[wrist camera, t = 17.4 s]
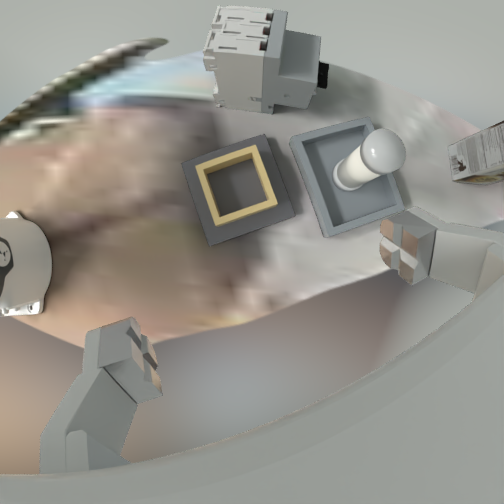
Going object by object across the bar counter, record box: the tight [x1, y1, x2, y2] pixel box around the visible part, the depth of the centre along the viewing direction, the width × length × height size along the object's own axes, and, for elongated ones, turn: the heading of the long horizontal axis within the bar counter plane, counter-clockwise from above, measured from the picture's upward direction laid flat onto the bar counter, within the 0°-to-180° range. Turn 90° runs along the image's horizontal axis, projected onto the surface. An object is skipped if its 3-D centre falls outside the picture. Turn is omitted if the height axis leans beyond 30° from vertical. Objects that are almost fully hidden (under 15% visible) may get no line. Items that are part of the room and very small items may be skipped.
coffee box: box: [448, 121, 504, 185], centre depth 32 cm, size 9×6×16 cm
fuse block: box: [181, 134, 295, 246], centre depth 39 cm, size 12×12×4 cm
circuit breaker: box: [203, 5, 329, 114], centre depth 33 cm, size 8×14×15 cm, turn 81°
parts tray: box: [289, 117, 405, 237], centre depth 39 cm, size 12×14×3 cm
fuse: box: [332, 129, 406, 192], centre depth 33 cm, size 4×4×14 cm
